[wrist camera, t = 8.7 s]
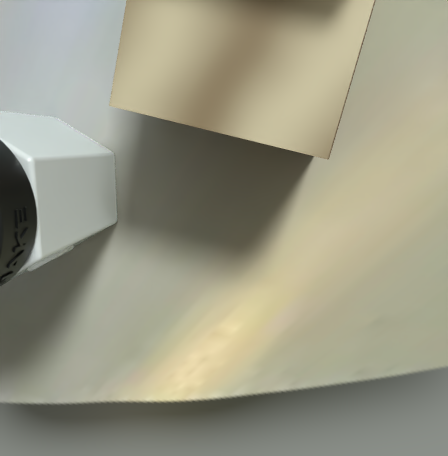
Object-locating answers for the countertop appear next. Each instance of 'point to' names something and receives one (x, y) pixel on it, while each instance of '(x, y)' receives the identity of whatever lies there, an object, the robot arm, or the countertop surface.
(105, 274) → the countertop surface
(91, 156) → the jar
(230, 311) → the countertop surface
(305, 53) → the lid
